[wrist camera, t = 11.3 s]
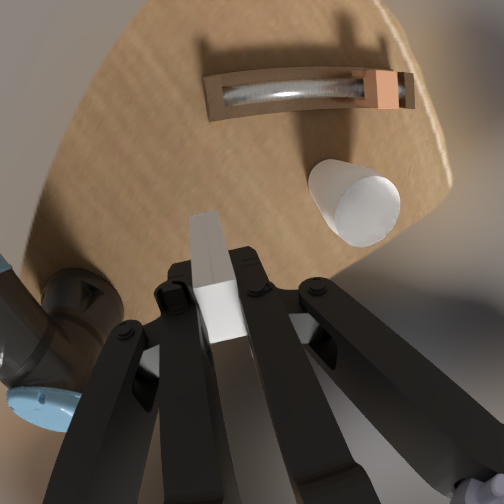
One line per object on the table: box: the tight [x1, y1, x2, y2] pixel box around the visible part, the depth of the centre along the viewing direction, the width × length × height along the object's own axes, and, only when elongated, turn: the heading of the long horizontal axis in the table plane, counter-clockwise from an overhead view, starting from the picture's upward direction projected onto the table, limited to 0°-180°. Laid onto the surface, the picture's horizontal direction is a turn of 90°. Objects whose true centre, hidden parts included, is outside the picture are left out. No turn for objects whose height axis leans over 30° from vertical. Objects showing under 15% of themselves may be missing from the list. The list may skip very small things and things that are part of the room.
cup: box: [308, 159, 400, 247], centre depth 37 cm, size 9×9×12 cm
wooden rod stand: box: [202, 66, 415, 122], centre depth 33 cm, size 27×6×6 cm, turn 97°
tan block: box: [352, 70, 399, 109], centre depth 30 cm, size 3×5×6 cm, turn 7°
